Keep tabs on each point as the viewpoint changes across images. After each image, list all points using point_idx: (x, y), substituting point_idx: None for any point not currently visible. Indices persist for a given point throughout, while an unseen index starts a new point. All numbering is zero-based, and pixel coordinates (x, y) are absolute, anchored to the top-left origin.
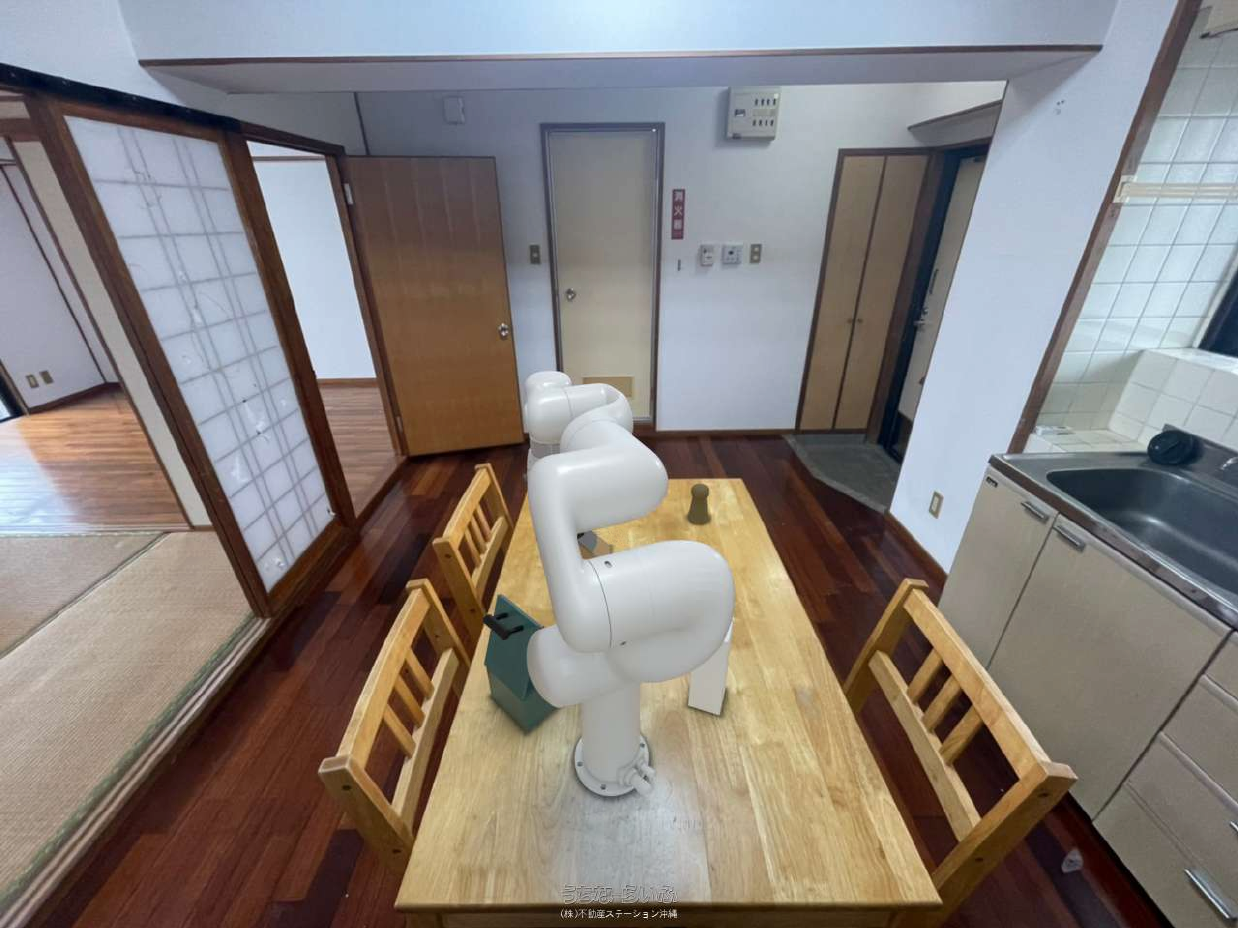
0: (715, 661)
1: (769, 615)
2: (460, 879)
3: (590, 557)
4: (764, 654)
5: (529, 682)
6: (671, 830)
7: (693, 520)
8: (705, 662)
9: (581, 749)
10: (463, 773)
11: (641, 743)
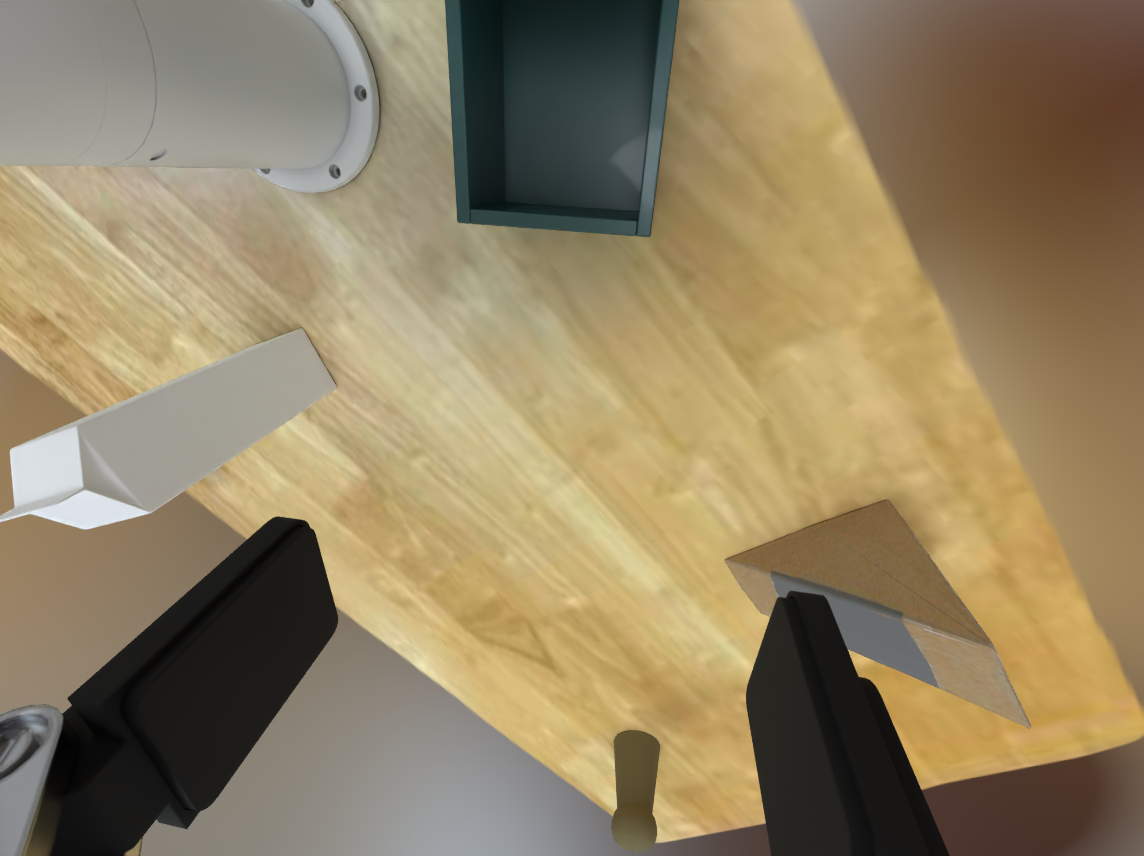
0: (121, 402)
1: (362, 586)
2: None
3: (772, 560)
4: (306, 508)
5: (609, 100)
6: None
7: (636, 737)
8: (152, 390)
9: (337, 37)
10: None
11: (271, 171)
